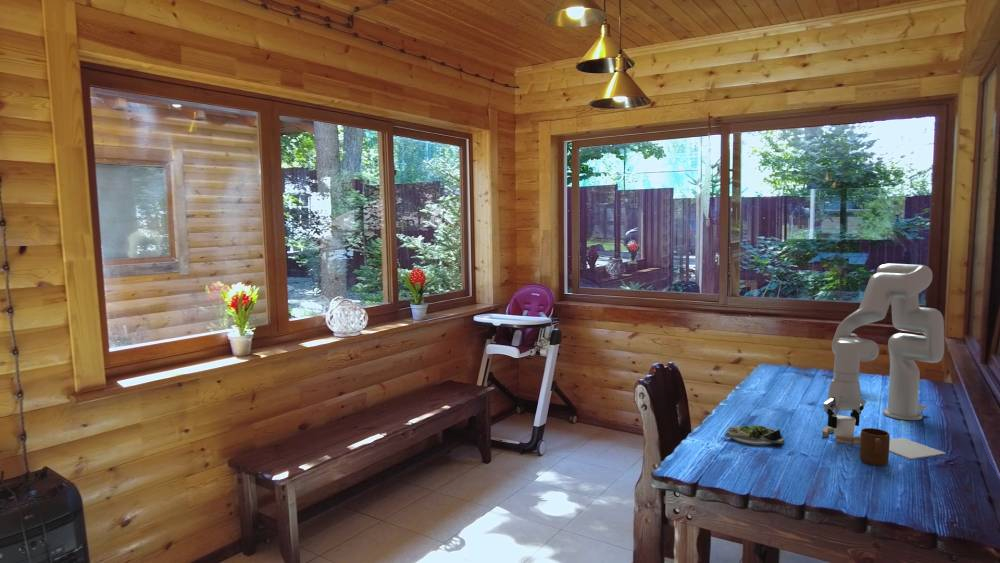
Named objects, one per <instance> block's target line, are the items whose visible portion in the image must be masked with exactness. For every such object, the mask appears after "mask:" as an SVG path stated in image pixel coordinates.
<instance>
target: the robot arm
mask: <svg viewBox="0 0 1000 563" xmlns="http://www.w3.org/2000/svg"><path fill="white" fill-rule="evenodd" d="M932 281H933V271H932V269H931V268H930V267H929V266H927V265H925V264H906V263H885V264H881V265H879V266H878V267H877V269H876V273H874V274H872V275H871V276H870V278H869V280H868V283H867V285H866V287H865V289H864V290H865V291H864V294H863V295H862V299H861V302H860V305H859V308H858V309H856V310H855V311H854V312H852V313H850V314H849V315H848V316H847V317H845V318H844V319H843V320H842V321H841V322H840V323H839V324H838V325H837V328H836V331H835V333H834V336H833V339H832V341H831V351H832V353H833V354H834V357H833V358H834V362H833V376H832V377H833V379H831V381H830V384H829V387H828V388H829V390H828V395H827V400H826V401H824V402H823V403H822V406H823V408H824V411H825V413H826V415H827V416H828V417H827V426H829V427H832V428H837V417H836V415H838V413H839V412H843V411H844V412H847V411H851V412H850V415H849V416H851V417H854V418H856V422H855V427H859V426H860V420H861V419H860V417H861V414H862V411H863V409H864V408H865V405H866V403H867V402H866V400H865V399H863V398H862V397H861V386H860V381H859V380H860V367H861V366H860V362H872V361H874V360H876V359H877V358H878V357H879V354H880V347H879V345H878V344H877V342H875V341H874V340H871V339H866V338H861V337H859V338H855V337H849V335H850V333H852V332H854V330H855V329H857V328H860V327H863V326H865V325H868V324H872V323H875V322H879V321H882V320H884V319H885V318H886V316H887V315H888V314H887V313H888V311H889V307H890V305H891V323H892V326H893V327H894V329H896V330H899V331H904V332H905V333H903V332H898V333H894V334H892V335H891V336H890V337H889V339H888V341H887V342H888V343H887V350H888V355H889V378H888V396H887V397H888V398H887V399H888V400H887V408H884V409H883V410H882V413H883V415H884V416H887V417H889V418H893V419H896V420H897V419H898V420H903V421H919V420H923V414H922V413H921V412H920V411H924V410H927V406H926V405H925V404H919V395H920V394H919V392H920V379H921V378H920V376H921V374H920V368H919V367H918V365H917V363H916V362H924V363H930V364H935V363H939V362H941V361H942V359H943V358H944V354H945V322H944V316H943V314H942V312H941V311H940V310H938V309H937V308H934V307H933V308H932V307H924V306H923V307H922V306H920V304H919V294H920V293H921V292H923V291H925V290H926V289H928V287H929V286H930V285H931V283H932ZM906 332H910V333H906ZM913 333H917V334H913ZM918 333H919V334H920V335H919V334H918ZM921 334H923V335H921ZM915 361H916V362H915Z"/></svg>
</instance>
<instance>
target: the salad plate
mask: <svg viewBox="0 0 1000 563" xmlns="http://www.w3.org/2000/svg"><path fill="white" fill-rule="evenodd" d="M726 432H727V433H724V437H727V438H730V439H732V440H734V441H736V442H740V443H744V444H747V445H750V446H751V445H752V446H779V445H781V444H785V437H783V435H782V433H781V430H780V428H777V429H775V430H774V429H772V428H769V427H767V426H763V425H749V426H748V425H747V426H746V425H745V426H743V425H740V426H730V427H729V428H727V429H726Z"/></svg>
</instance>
